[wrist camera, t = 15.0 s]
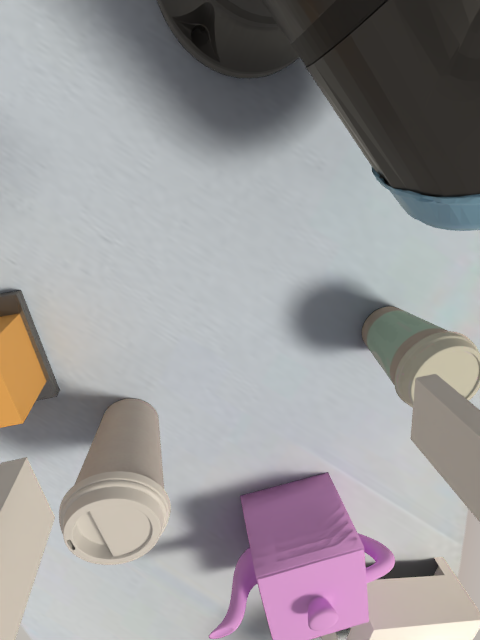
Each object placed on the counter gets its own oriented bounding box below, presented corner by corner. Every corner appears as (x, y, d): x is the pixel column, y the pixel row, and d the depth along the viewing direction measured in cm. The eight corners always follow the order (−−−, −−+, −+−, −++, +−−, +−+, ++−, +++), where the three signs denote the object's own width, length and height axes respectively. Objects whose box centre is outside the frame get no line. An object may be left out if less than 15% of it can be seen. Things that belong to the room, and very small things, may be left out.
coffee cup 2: (336, 337, 46) (387, 394, 35) (385, 281, 44) (455, 323, 33) (382, 370, 49) (442, 432, 38) (430, 319, 47) (507, 369, 36)
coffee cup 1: (90, 384, 43) (52, 489, 30) (176, 390, 45) (177, 491, 32) (87, 450, 47) (51, 573, 33) (166, 453, 49) (163, 569, 35)
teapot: (190, 508, 53) (195, 619, 41) (360, 463, 55) (416, 556, 42) (212, 575, 60) (223, 689, 47) (364, 532, 61) (414, 631, 49)
